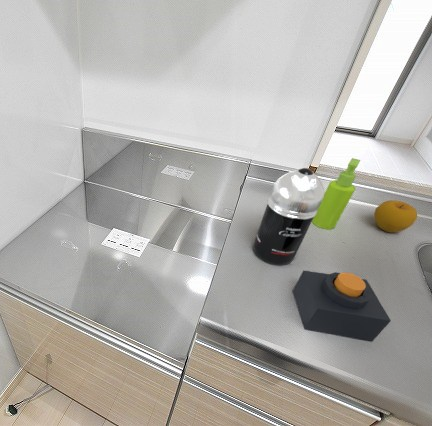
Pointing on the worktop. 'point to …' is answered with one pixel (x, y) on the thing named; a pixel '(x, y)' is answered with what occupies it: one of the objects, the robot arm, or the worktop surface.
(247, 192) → the worktop surface
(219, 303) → the worktop surface
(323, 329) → the button base
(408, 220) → the apple
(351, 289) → the orange disc
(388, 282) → the worktop surface
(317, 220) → the soap dispenser
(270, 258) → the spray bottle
